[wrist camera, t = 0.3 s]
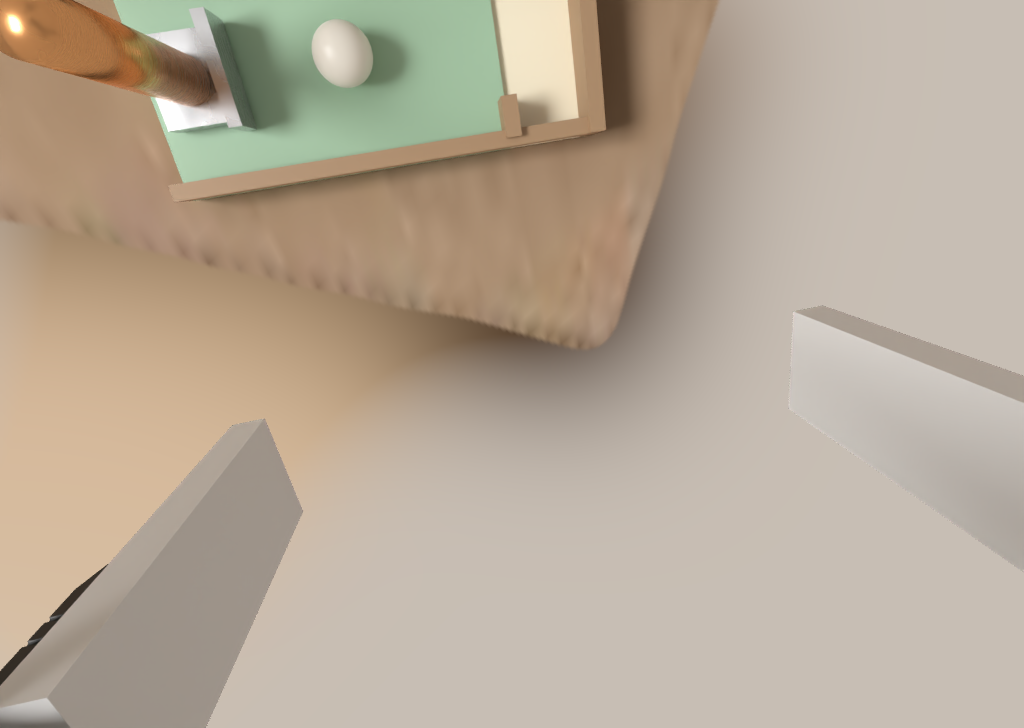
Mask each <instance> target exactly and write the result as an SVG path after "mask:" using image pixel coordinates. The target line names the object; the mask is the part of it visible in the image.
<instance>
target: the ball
mask: <svg viewBox="0 0 1024 728" xmlns="http://www.w3.org/2000/svg"><path fill="white" fill-rule="evenodd" d="M311 49H312V56H313V60H314V63H315V65H316V67H317V69H318V70H319V72H320V73H321V74H322V76H323V77H324V78H325V79H326V80H328V81H329V82H330V83H332V84H334V85H336V86H339V87H342V88H353V87H356V86H359V85H361V84H362V83H363V82H365V81H366V79H367V78H368V77H369V75H370V73H371V70H372V66H373V53H372V49H371V46H370V43H369V41H368V39H367V37H366V36H365V34H364V33H363V32H362V31H361V30H360V29H359V28H358V27H357V26H356V25H354V24H352V23H351V22H348V21H346V20H342V19H332V20H328V21H326V22H324V23H323V24H321V25H320V26H319V27H318V29H317V30H316V32H315V33H314V36H313V39H312V47H311Z"/></svg>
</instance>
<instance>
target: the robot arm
mask: <svg viewBox="0 0 1024 728" xmlns="http://www.w3.org/2000/svg"><path fill="white" fill-rule="evenodd" d="M791 348H792V349H791V367H790V387H789V407H788V409H789V410H791V411H792V412H794V413H795V414H797V415H798V416H799V417H801V418H803V419H804V420H805V421H807V422H808V423H810V424H811V425H812V426H814V427H815V428H817V429H818V430H820V431H821V432H822V433H824V434H825V435H827V436H828V437H830V438H831V439H833V440H834V441H835V442H837V443H838V444H840V445H841V446H843V447H844V448H845V449H847V450H848V451H850V452H852V453H853V454H854V455H856V456H857V457H858V458H860V459H861V460H863V461H864V462H866V463H867V464H869V465H870V466H872V467H873V468H874V469H876V470H877V471H879V472H880V473H881V474H883V475H885V476H886V477H887V478H889V479H890V480H892V481H893V482H894V483H896V484H897V485H899V486H900V487H902V488H903V489H905V490H906V491H907V492H909V493H910V494H912V495H913V496H915V497H916V498H917V499H919V500H920V501H922V502H923V503H925V504H926V505H928V506H929V507H930V508H932V509H933V510H935V511H936V512H938V513H939V514H941V515H942V516H944V517H945V518H946V519H948V520H949V521H951V522H952V523H953V524H955V525H956V526H958V527H959V528H961V529H962V530H964V531H965V532H966V533H968V534H969V535H971V536H972V537H974V538H975V539H976V540H978V541H979V542H981V543H982V544H984V545H985V546H987V547H988V548H989V549H991V550H992V551H994V552H995V553H997V554H998V555H999V556H1001V557H1003V558H1004V559H1005V560H1007V561H1008V562H1010V563H1011V564H1013V565H1014V566H1015V567H1017V568H1018V569H1020V570H1021V571H1023V572H1024V376H1023V375H1020V374H1017V373H1014V372H1011V371H1008V370H1006V369H1002V368H1000V367H997V366H994V365H991V364H988V363H986V362H983V361H980V360H977V359H974V358H971V357H969V356H966V355H963V354H960V353H957V352H954V351H951V350H949V349H946V348H943V347H940V346H937V345H934V344H931V343H928V342H926V341H923V340H920V339H917V338H914V337H911V336H908V335H906V334H903V333H900V332H897V331H894V330H891V329H888V328H886V327H883V326H880V325H877V324H874V323H871V322H868V321H866V320H863V319H860V318H857V317H854V316H851V315H848V314H845V313H843V312H840V311H837V310H834V309H831V308H828V307H826V306H818V307H813V308H808V309H803V310H798V311H793V328H792V347H791ZM302 513H303V510H302V508H301V505H300V503H299V500H298V498H297V496H296V493H295V491H294V488H293V486H292V483H291V481H290V479H289V476H288V474H287V471H286V469H285V467H284V464H283V462H282V459H281V457H280V454H279V452H278V450H277V447H276V445H275V442H274V440H273V437H272V435H271V433H270V430H269V428H268V425H267V423H266V421H265V419H260V420H255V421H250V422H245V423H240V424H236V425H232V426H231V427H230V428H229V429H228V431H227V432H226V433H225V434H224V435H223V436H222V437H221V438H220V440H219V441H218V442H217V443H216V444H215V445H214V446H213V447H212V449H211V450H210V451H209V452H208V453H207V454H206V455H205V457H204V458H203V459H202V460H201V461H200V462H199V463H198V464H197V465H196V466H195V468H194V469H193V470H192V471H191V472H190V473H189V475H188V476H187V477H186V478H185V479H184V480H183V481H182V482H181V484H180V485H179V486H178V487H177V488H176V489H175V490H174V491H173V492H172V493H171V495H170V496H169V497H168V498H167V499H166V500H165V501H164V503H163V504H162V505H161V506H160V507H159V508H158V509H157V510H156V511H155V513H154V514H153V515H152V516H151V517H150V518H149V519H148V521H147V522H146V523H145V524H144V525H143V526H142V527H141V528H140V529H139V531H138V532H137V533H136V534H135V535H134V536H133V537H132V538H131V540H130V541H129V542H128V543H127V544H126V545H125V546H124V547H123V549H122V550H121V551H120V552H119V553H118V554H117V555H116V557H114V559H113V560H112V561H111V562H110V563H109V564H107V565H106V566H105V567H104V568H102V569H101V570H100V571H98V572H97V573H96V574H94V575H93V576H92V577H91V578H89V579H88V580H87V581H86V582H84V583H83V584H82V585H80V586H79V587H78V588H76V589H75V590H74V591H73V592H72V593H71V594H70V596H69V597H68V598H67V599H66V600H65V601H64V602H63V603H62V604H61V605H60V607H59V608H58V609H57V610H56V611H55V612H54V613H53V614H52V615H51V617H50V621H49V622H47V623H44V624H43V625H42V626H41V627H40V628H39V630H38V631H37V632H36V633H35V634H34V635H33V636H32V637H31V638H30V639H29V641H28V645H27V646H26V647H22V648H21V649H20V650H19V651H18V652H17V654H15V656H14V657H13V658H12V659H11V660H10V661H9V662H8V663H7V664H6V665H5V666H4V668H3V669H2V670H1V671H0V728H206V726H207V724H208V722H209V719H210V717H211V714H212V713H213V710H214V708H215V706H216V704H217V702H218V699H219V697H220V695H221V693H222V690H223V688H224V686H225V684H226V682H227V679H228V677H229V675H230V673H231V670H232V668H233V666H234V664H235V662H236V659H237V657H238V655H239V653H240V650H241V648H242V646H243V644H244V641H245V639H246V637H247V635H248V633H249V630H250V628H251V626H252V624H253V621H254V619H255V617H256V615H257V613H258V610H259V608H260V606H261V604H262V601H263V599H264V597H265V595H266V593H267V590H268V588H269V586H270V584H271V581H272V579H273V577H274V575H275V573H276V570H277V568H278V566H279V564H280V562H281V559H282V557H283V555H284V553H285V550H286V548H287V546H288V544H289V541H290V539H291V537H292V535H293V533H294V530H295V528H296V526H297V524H298V521H299V519H300V517H301V515H302Z"/></svg>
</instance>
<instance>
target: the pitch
mask: <svg viewBox="0 0 1024 728" xmlns="http://www.w3.org/2000/svg"><path fill="white" fill-rule="evenodd" d="M114 3H115V6H116V8H117V11H118V13H119V16H120V19H121V21H122V24H124V25H126V26H128V27H130V28H133V29H135V30H137V31H139V32H141V33H143V34H145V35H146V34H153V33H160V32H166V31H173V30H180V29H186V28H193V27H195V26H194V23H193V20H192V17H191V14H190V11H189V9H192V8H199V7H204V8H206V9H207V10H209V11H210V12H211V13H213V14H214V15H216V16H217V17H219V18H220V19H222V20H223V23H224V26H225V29H226V33H227V36H228V39H229V42H230V45H231V48H232V51H233V55H234V58H235V61H236V64H237V67H238V70H239V74H240V77H241V80H242V83H243V86H244V89H245V92H246V96H247V99H248V102H249V105H250V108H251V111H252V114H253V118H254V121H255V124H256V127H257V130H252V131H246V132H244V131H240V130H236V129H231V128H229V127H228V125H227V126H221V127H214V128H208V129H202V130H196V131H189V132H183V133H175V132H169V131H168V129H167V126H166V124H165V121H164V118H163V116H162V113H161V110H160V108H159V105H158V103H157V100H156V98H155V97H151V96H150V97H151V100H152V102H153V105H154V107H155V110H156V113H157V115H158V118H159V121H160V123H161V126H162V128H163V131H164V134H165V136H166V139H167V141H168V144H169V147H170V149H171V152H172V154H173V157H174V160H175V162H176V165H177V168H178V170H179V173H180V175H181V178H182V181H183V183H181V184H175V185H169V186H168V188H169V190H170V193H171V195H172V198H173V200H174V202H184V201H196V200H204V199H210V198H216V197H222V196H228V195H234V194H240V193H246V192H252V191H258V190H264V189H270V188H276V187H282V186H288V185H294V184H300V183H306V182H312V181H318V180H324V179H330V178H336V177H342V176H348V175H354V174H360V173H366V172H372V171H378V170H384V169H390V168H396V167H402V166H408V165H414V164H420V163H426V162H432V161H438V160H444V159H450V158H456V157H462V156H468V155H474V154H480V153H486V152H492V151H498V150H504V149H510V148H516V147H522V146H528V145H534V144H540V143H546V142H552V141H558V140H564V139H570V138H576V137H582V136H588V135H593V134H596V133H599V132H602V131H605V130H606V122H605V109H604V96H603V83H602V70H601V57H600V44H599V31H598V18H597V4H596V0H114ZM332 19H342V20H346V21H348V22H351V23H352V24H354V25H356V26H357V27H358V28H359V29H360V30H361V31H362V32H363V33H364V34H365V36H366V37H367V39H368V41H369V43H370V46H371V49H372V53H373V66H372V70H371V73H370V75H369V77H368V78H367V79H366V81H365V82H363V83H362V84H361V85H359V86H356V87H353V88H342V87H339V86H336V85H334V84H332V83H330V82H329V81H328V80H326V79H325V78H324V77H323V76H322V74H321V73H320V72H319V70H318V69H317V67H316V65H315V63H314V60H313V56H312V49H311V47H312V39H313V36H314V33H315V32H316V30H317V29H318V27H319V26H320V25H321V24H323V23H324V22H326V21H328V20H332Z"/></svg>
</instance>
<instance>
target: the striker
mask: <svg viewBox="0 0 1024 728" xmlns="http://www.w3.org/2000/svg"><path fill="white" fill-rule="evenodd" d="M189 11H190V14H191V17H192V20H193V23H194V26H195V27H193V28H186V29H180V30H173V31H166V32H160V33H153V34H146V35H145V34H143V33H141V32H139V31H137V30H135V29H133V28H130V27H128V26H126V25H124V24H122V23H120V22H118V21H116V20H113V19H111V18H109V17H107V16H105V15H103V14H101V13H99V12H97V11H94V10H92V9H90V8H88V7H86V6H84V5H82V4H80V3H77V2H75V1H73V0H0V51H1V52H3V53H4V54H6V55H8V56H10V57H12V58H15V59H18V60H21V61H25V62H28V63H32V64H35V65H39V66H43V67H46V68H50V69H54V70H57V71H61V72H64V73H68V74H72V75H75V76H79V77H82V78H86V79H90V80H93V81H97V82H101V83H104V84H108V85H111V86H115V87H119V88H122V89H126V90H129V91H133V92H137V93H140V94H144V95H148V96H151V97H155V98H156V100H157V103H158V105H159V108H160V110H161V113H162V116H163V118H164V121H165V124H166V126H167V129H168V131H169V132H175V133H183V132H189V131H196V130H202V129H208V128H214V127H221V126H227V125H228V127H229V128H231V129H236V130H240V131H244V132H246V131H252V130H257V127H256V124H255V121H254V118H253V114H252V111H251V108H250V105H249V102H248V99H247V96H246V92H245V89H244V86H243V83H242V80H241V77H240V74H239V70H238V67H237V64H236V61H235V58H234V55H233V51H232V48H231V45H230V42H229V39H228V36H227V33H226V29H225V26H224V23H223V20H222V19H220V18H219V17H217V16H216V15H214V14H213V13H211V12H210V11H209V10H207V9H206V8H204V7H199V8H192V9H189Z"/></svg>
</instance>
